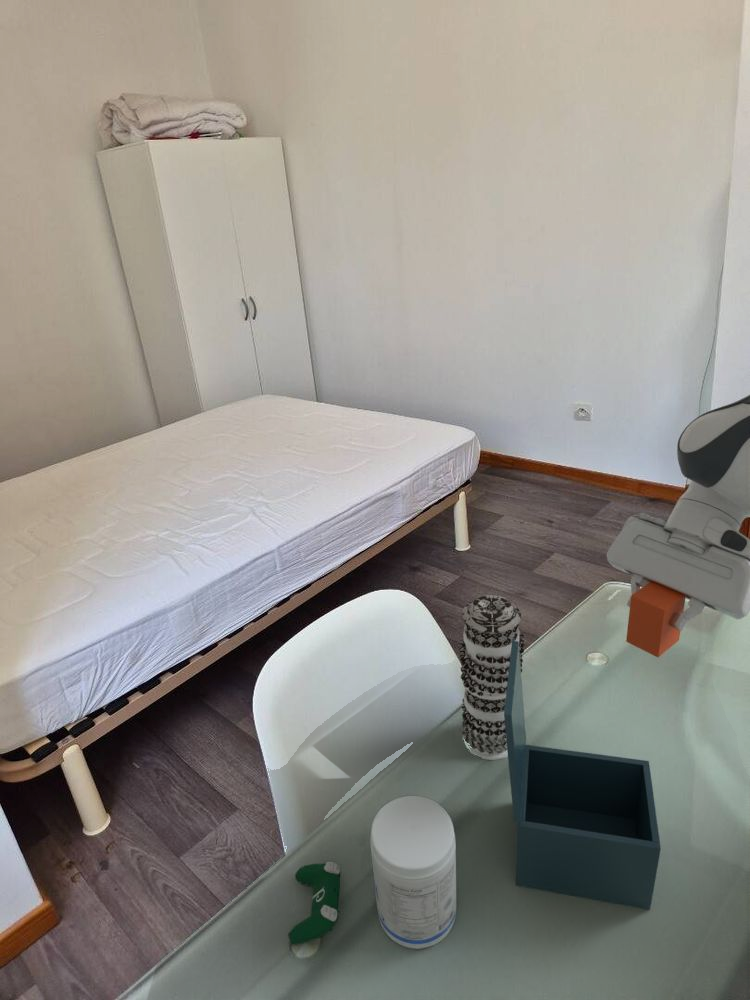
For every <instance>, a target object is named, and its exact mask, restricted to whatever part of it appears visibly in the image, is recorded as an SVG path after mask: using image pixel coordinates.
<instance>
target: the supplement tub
mask: <svg viewBox="0 0 750 1000" xmlns="http://www.w3.org/2000/svg"><path fill="white" fill-rule="evenodd" d="M369 841H370V853H371V861H372V862H371V863H372V871H373V880H374V890H375V901H376V910H377V917H378V920H379V923H380V925H381V927H382V929H383V931H384V932H385V933H386V935H387V936H388V937H389V938H390V939H391V940H392V941H393V942H395V943H397V944H398V945H400V946H402V947H405V948H409V949H414V950H415V949H417V950H418V949H426V948H429V947H433V946H435V945H437V944H438V943H440V942H441V941H442V940H444V939H445V938H446V937H447V935H448V934H449V933H450V931H451V930H452V928H453V926H454V925H455V920H456V917H457V861H456V860H457V856H456V855H457V854H456V852H457V849H456V848H457V847H456V845H457V844H456V834H455V829H454V824H453V820H452V818H451V817H450V815H449V814H448V811H446V810H445V809H444V808H443V806H442V805H440V804H439V803H437V802H436V801H434V800H432V799H430V798H427V797H423V796H417V795H408V796H407V795H406V796H401V797H398V798H394V799H393V800H391V801H388V802H387V803H386V804H385V805H383V806H382V807H381V808H380V809H379V810H378V812H377V813H376V815H375V816H374V818H373V820H372V823H371V827H370V840H369Z"/></svg>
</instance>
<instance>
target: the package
mask: <svg viewBox="0 0 750 1000" xmlns="http://www.w3.org/2000/svg"><path fill="white" fill-rule="evenodd" d="M630 597H631V602H630V607H629V611H628V612H629V613H628V621H627V631H626V638H625V639H626V640H625V642H626V643H627V644H630V645H632V646H634V647H636V648H638V649H640V650H642V651H644V652H646V653H648V654H650V655H651V656H654V657H656V658H660V657H661V656H662V655H663V654H665V653H666V652H667V651H669V649H670V648H671V647H672V646H674V645H676V643H678V642H680V636H681V631H680V630H678V629H676V628H673V627H671V626H670V625H669V621H670V619H672V616H673V614H674V613H677V614H679V615H680V614H681V613H682V612H684V611H685V604H686V599H687V598H686V594H683V593H681V592H679V591H676V590H674V589H671V588H669V587H667V586H664V585H662V584H659V583H657V582H655V581H651V582H647V583H646V585H645V586H644V587H640V590H638V591H637V592H635V593H634V594H633V595H632V594H631V595H630Z"/></svg>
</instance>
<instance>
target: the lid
mask: <svg viewBox="0 0 750 1000" xmlns="http://www.w3.org/2000/svg"><path fill="white" fill-rule="evenodd" d="M519 650H520V648H519V642H518V641H512V646H511V655H510V664H509V673H508V683H507V692H506V701H505V710H504V719H505V730H506V741H507V752H508V756H507V761H508V771H509V772H508V773H509V783H510V793H511V804H512V813H513V814H512V815H513V816H512V817H513V822H514V823H517V824H518V823H521V815H522V800H523V784H524V769H525V754H526V745H527V733H526V719H525V718H526V717H525V707H524V694H523V692H524V691H523V682H522V679H523V678H522V673H521V668H522V667H521V666H520V653H519Z"/></svg>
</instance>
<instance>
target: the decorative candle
mask: <svg viewBox="0 0 750 1000" xmlns="http://www.w3.org/2000/svg"><path fill="white" fill-rule="evenodd" d="M461 617H462V619H463V621H464V627H463V635H462V637H461V639H460V641H459V646H460V647H459V654H460V655H459V657H458V659H459V661H460V665H461V667H460V672H461V675H460V679H461V682H462V684H463V687H464V694H463V698H462V703H463V704H462V705H461V709H462V711H463V712H462V713H461V718H462V721H461V727H462V729H461V734H462V736H463V735H464V739H465V741H466V742H467V743H469V744H470V745H468V746H471V747H472V748H470V747H469V748H470V750H471V752H472V753H473V754H476V755H477V756H479V757H481V758H482V759H481V758H480V759H481V760H487V761H498V760H503V759H505V758H508V752H507V741H506V730H505V719H504V710H505V701H506V692H507V683H508V673H509V664H510V655H511V646H512V641H518V642H519V653H520V666H521V674H522V673H523V668H522V667H523V663H524V660H523V654H524V652H525V648H524V647H525V644H524V643H525V640H524V638H525V637H524V636H525V635H524V634H523V633H522V632H520V631H521V629H520V628H519V627H520V626H519V625H520V622H521V620H522V612H521V610H520V609H519V607H518V606H517V605H515V604H513V603H512V602H511V601H510V600H508V599H507V598H505V597H503V596H500V595H496V594H495V595H494V594H487V595H481V596H479V597H476V598H475V599H474V600H473V601H470V602H468V603H467V604H466V606H464V608H462V613H461ZM471 752H470V753H471ZM472 753H471V754H472ZM473 754H472V755H473ZM477 756H476V757H477ZM479 757H478V758H479Z"/></svg>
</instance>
